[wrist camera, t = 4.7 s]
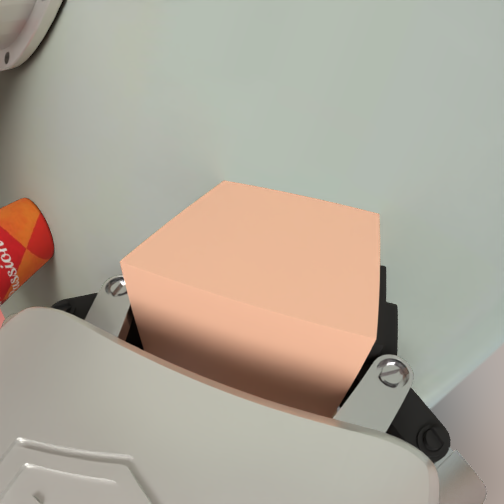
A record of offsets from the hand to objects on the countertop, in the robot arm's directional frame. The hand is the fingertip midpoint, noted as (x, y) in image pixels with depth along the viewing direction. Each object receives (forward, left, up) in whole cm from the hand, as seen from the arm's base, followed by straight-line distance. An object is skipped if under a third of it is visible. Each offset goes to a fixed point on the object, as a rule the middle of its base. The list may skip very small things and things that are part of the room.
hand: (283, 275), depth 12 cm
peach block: (0, 0, -1) cm, 1 cm away
